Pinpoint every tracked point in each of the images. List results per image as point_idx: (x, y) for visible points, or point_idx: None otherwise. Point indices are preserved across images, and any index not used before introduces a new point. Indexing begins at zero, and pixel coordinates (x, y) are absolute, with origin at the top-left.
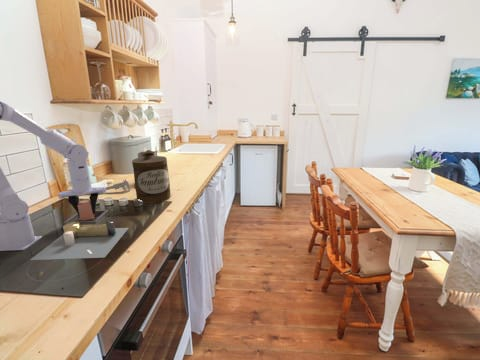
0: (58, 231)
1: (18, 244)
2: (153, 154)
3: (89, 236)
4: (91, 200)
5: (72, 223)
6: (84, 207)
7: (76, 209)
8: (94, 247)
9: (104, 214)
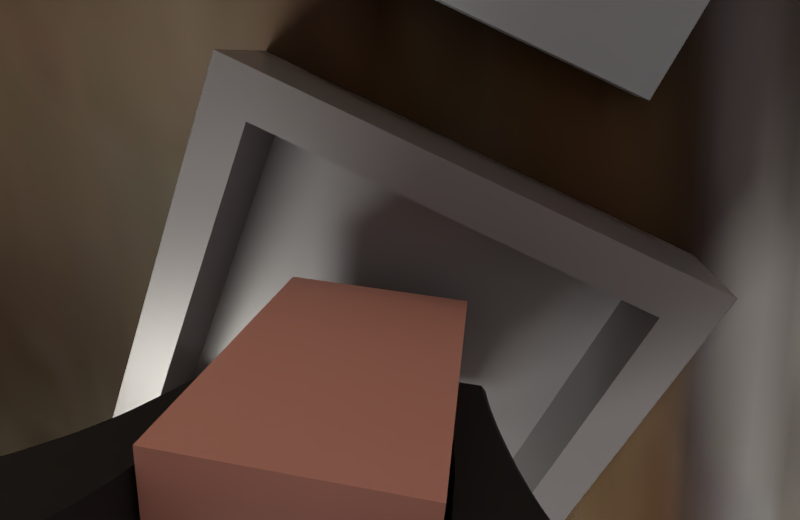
0: (777, 227)
1: None
2: None
3: None
4: (31, 500)
5: None
6: (315, 418)
7: (496, 464)
8: None
9: (142, 326)
